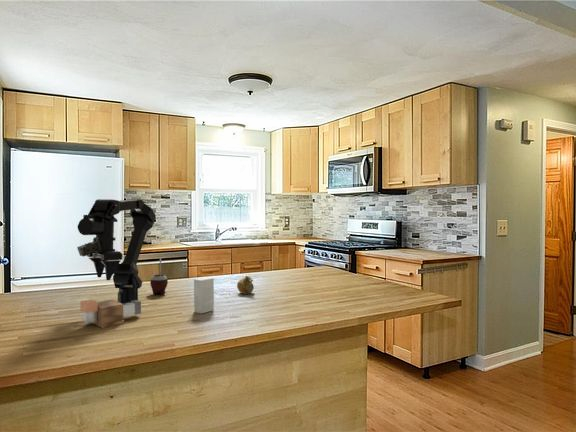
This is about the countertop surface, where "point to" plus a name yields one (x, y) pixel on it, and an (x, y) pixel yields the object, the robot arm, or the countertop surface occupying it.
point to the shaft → (128, 309)
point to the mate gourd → (159, 283)
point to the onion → (245, 285)
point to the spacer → (88, 306)
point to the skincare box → (203, 294)
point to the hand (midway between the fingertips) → (103, 278)
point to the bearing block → (109, 313)
